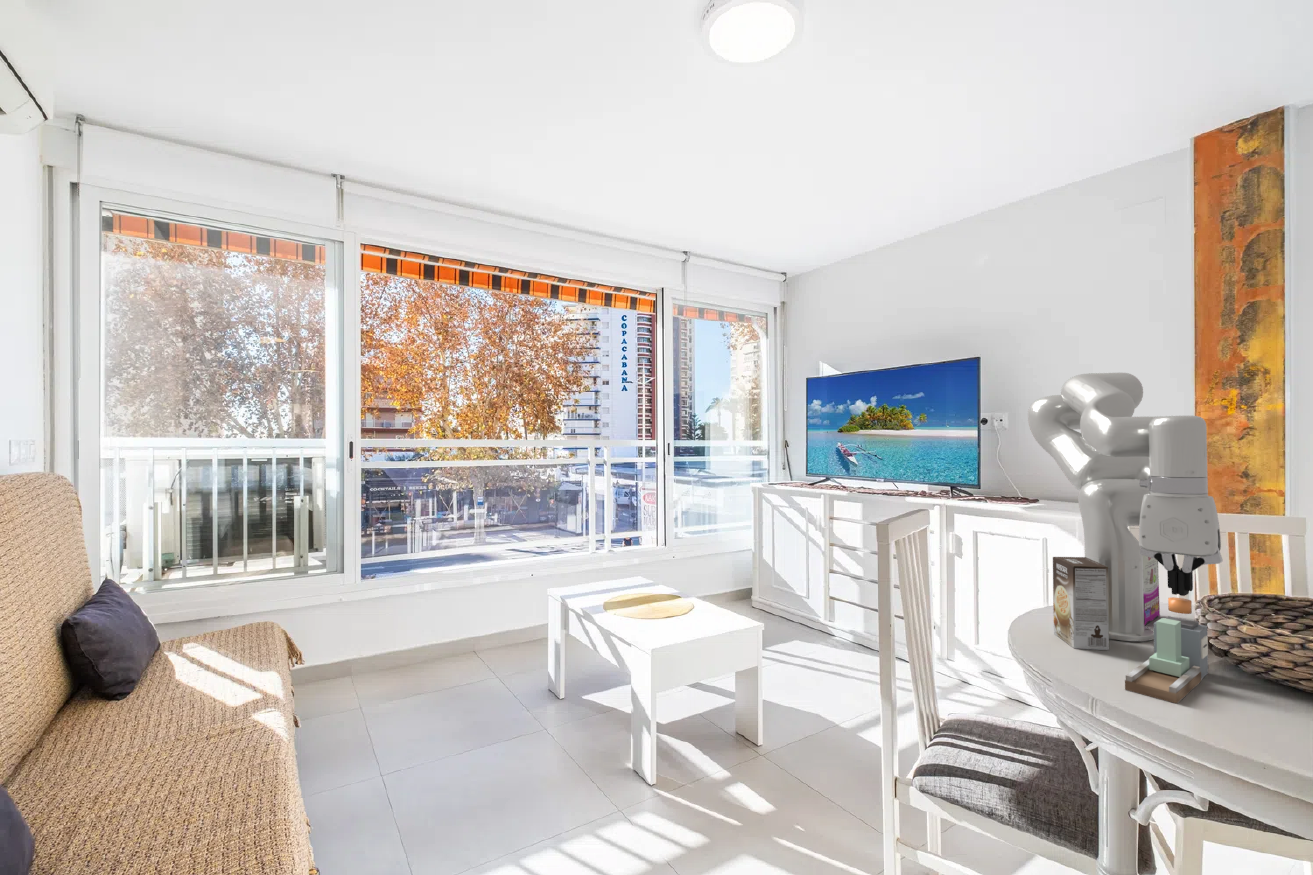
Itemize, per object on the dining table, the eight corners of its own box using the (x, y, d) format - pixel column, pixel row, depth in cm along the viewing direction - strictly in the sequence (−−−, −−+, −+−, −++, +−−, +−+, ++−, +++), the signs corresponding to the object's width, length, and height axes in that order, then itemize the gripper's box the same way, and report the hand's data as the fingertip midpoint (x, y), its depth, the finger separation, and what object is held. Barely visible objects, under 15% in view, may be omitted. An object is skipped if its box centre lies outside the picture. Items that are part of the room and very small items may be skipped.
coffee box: (1051, 633, 122) (1050, 555, 122) (1086, 635, 121) (1085, 556, 121) (1073, 649, 113) (1072, 565, 113) (1111, 651, 112) (1110, 566, 112)
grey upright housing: (1163, 662, 106) (1162, 614, 106) (1210, 673, 101) (1209, 623, 101) (1154, 669, 103) (1153, 619, 103) (1202, 680, 98) (1201, 628, 98)
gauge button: (1171, 607, 104) (1171, 596, 104) (1193, 611, 101) (1193, 600, 101) (1166, 610, 102) (1165, 599, 102) (1188, 614, 100) (1188, 603, 100)
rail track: (1152, 669, 103) (1152, 655, 103) (1201, 681, 98) (1201, 667, 98) (1125, 689, 95) (1124, 675, 95) (1176, 703, 90) (1176, 688, 90)
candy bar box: (1132, 611, 136) (1131, 540, 136) (1160, 616, 132) (1159, 543, 132) (1115, 620, 130) (1114, 546, 130) (1144, 626, 126) (1143, 549, 126)
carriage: (1158, 662, 101) (1157, 615, 101) (1189, 669, 98) (1188, 621, 98) (1149, 669, 98) (1148, 621, 98) (1180, 677, 95) (1179, 627, 95)
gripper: (1117, 486, 106) (1119, 588, 106) (1232, 491, 94) (1235, 607, 93) (1131, 484, 110) (1133, 582, 110) (1243, 488, 98) (1245, 599, 98)
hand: (1180, 593), depth 102 cm, fingers closed
